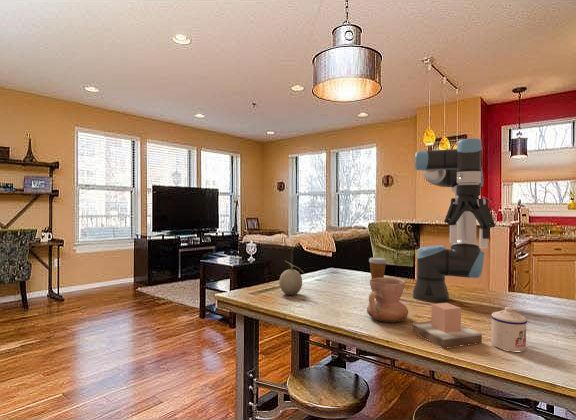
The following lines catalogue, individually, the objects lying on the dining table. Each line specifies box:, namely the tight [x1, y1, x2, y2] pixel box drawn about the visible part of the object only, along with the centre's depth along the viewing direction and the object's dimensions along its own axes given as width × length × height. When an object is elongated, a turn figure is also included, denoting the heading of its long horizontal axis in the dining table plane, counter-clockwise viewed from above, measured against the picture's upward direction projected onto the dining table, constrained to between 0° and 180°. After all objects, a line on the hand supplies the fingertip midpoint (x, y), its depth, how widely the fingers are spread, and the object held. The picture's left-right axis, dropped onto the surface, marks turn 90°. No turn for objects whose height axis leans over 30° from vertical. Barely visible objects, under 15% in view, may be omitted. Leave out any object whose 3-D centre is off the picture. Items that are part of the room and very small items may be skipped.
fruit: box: [278, 260, 305, 296], centre depth 163 cm, size 10×12×15 cm
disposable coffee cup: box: [368, 256, 387, 279], centre depth 195 cm, size 10×10×12 cm
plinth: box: [412, 320, 483, 349], centre depth 112 cm, size 14×14×3 cm
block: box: [430, 302, 462, 332], centre depth 111 cm, size 6×6×7 cm
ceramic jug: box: [366, 276, 409, 323], centre depth 129 cm, size 18×14×14 cm
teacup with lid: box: [490, 306, 528, 352], centre depth 105 cm, size 12×9×12 cm
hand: (467, 245), depth 123 cm, fingers open, 13 cm apart
